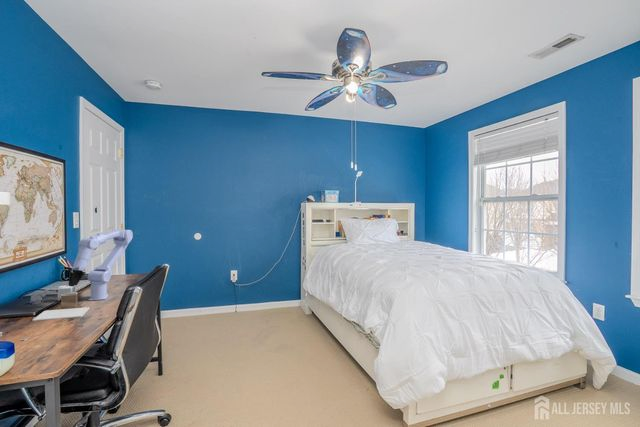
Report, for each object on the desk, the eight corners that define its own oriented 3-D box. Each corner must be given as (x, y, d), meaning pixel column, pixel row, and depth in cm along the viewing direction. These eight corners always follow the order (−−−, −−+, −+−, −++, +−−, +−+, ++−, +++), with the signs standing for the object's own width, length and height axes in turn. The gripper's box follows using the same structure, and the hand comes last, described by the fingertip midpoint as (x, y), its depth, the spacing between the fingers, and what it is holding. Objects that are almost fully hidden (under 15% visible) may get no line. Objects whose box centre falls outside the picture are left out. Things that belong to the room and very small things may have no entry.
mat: (44, 311, 150) (44, 310, 150) (89, 308, 157) (89, 307, 157) (32, 321, 137) (32, 319, 137) (81, 316, 145) (81, 315, 145)
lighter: (30, 304, 159) (31, 289, 159) (31, 303, 160) (32, 288, 160) (48, 303, 162) (48, 288, 162) (49, 302, 164) (49, 287, 164)
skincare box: (74, 298, 173) (75, 285, 173) (70, 301, 167) (71, 287, 167) (61, 299, 171) (62, 285, 171) (56, 302, 165) (57, 288, 165)
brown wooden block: (62, 308, 155) (63, 292, 155) (76, 307, 158) (77, 292, 158) (60, 310, 153) (61, 294, 153) (75, 309, 155) (76, 293, 155)
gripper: (70, 259, 165) (60, 285, 160) (76, 256, 155) (65, 283, 150) (86, 262, 169) (76, 287, 164) (92, 259, 160) (82, 285, 155)
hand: (72, 285), depth 157 cm, fingers open, 7 cm apart
